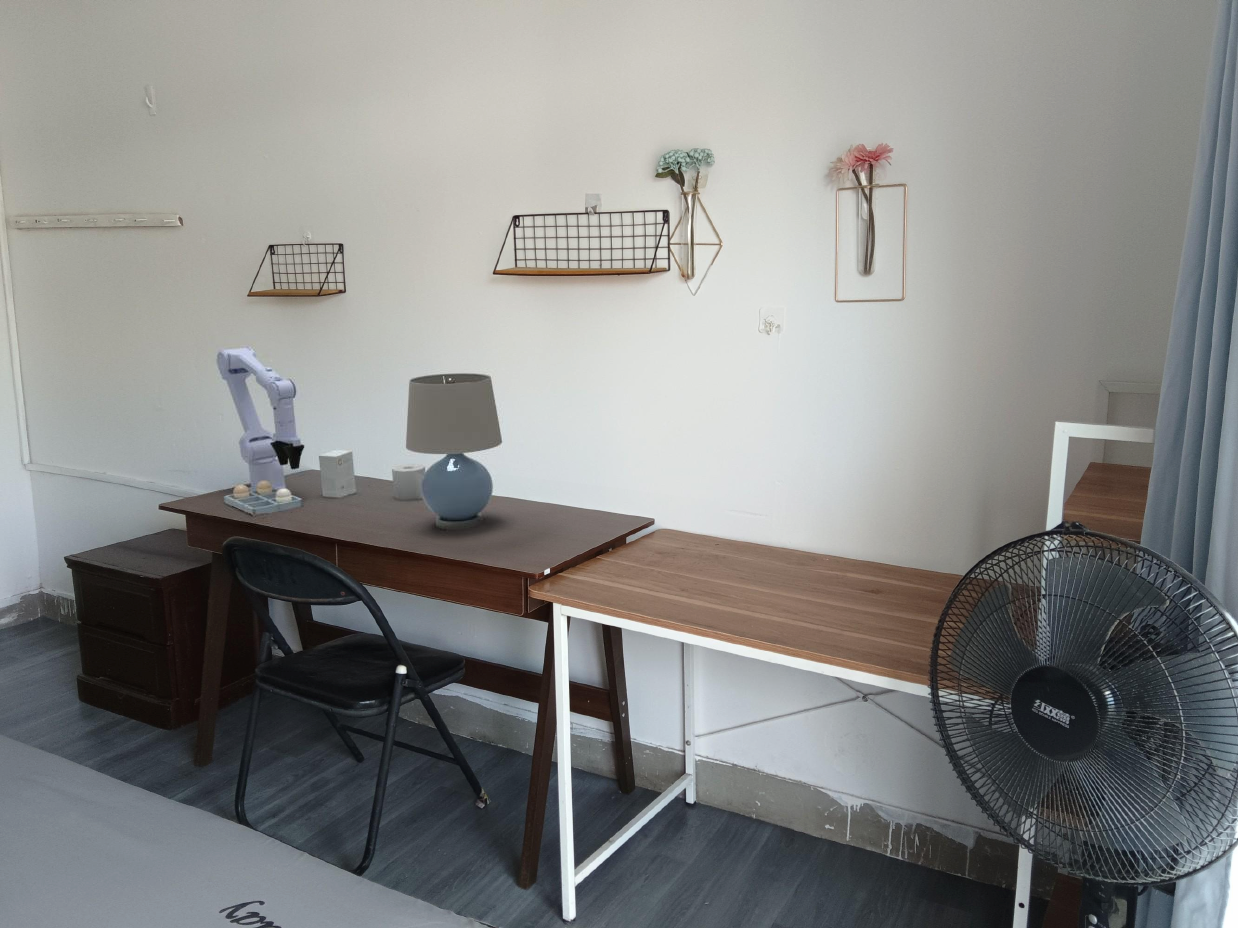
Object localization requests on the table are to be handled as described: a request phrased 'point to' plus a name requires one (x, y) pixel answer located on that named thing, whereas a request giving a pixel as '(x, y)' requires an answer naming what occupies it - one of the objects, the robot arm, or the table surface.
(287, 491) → the cream egg
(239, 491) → the brown egg
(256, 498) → the egg carton
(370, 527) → the table surface
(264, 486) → the brown egg
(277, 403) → the robot arm
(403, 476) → the toilet tissue
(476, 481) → the lamp
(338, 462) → the small box
